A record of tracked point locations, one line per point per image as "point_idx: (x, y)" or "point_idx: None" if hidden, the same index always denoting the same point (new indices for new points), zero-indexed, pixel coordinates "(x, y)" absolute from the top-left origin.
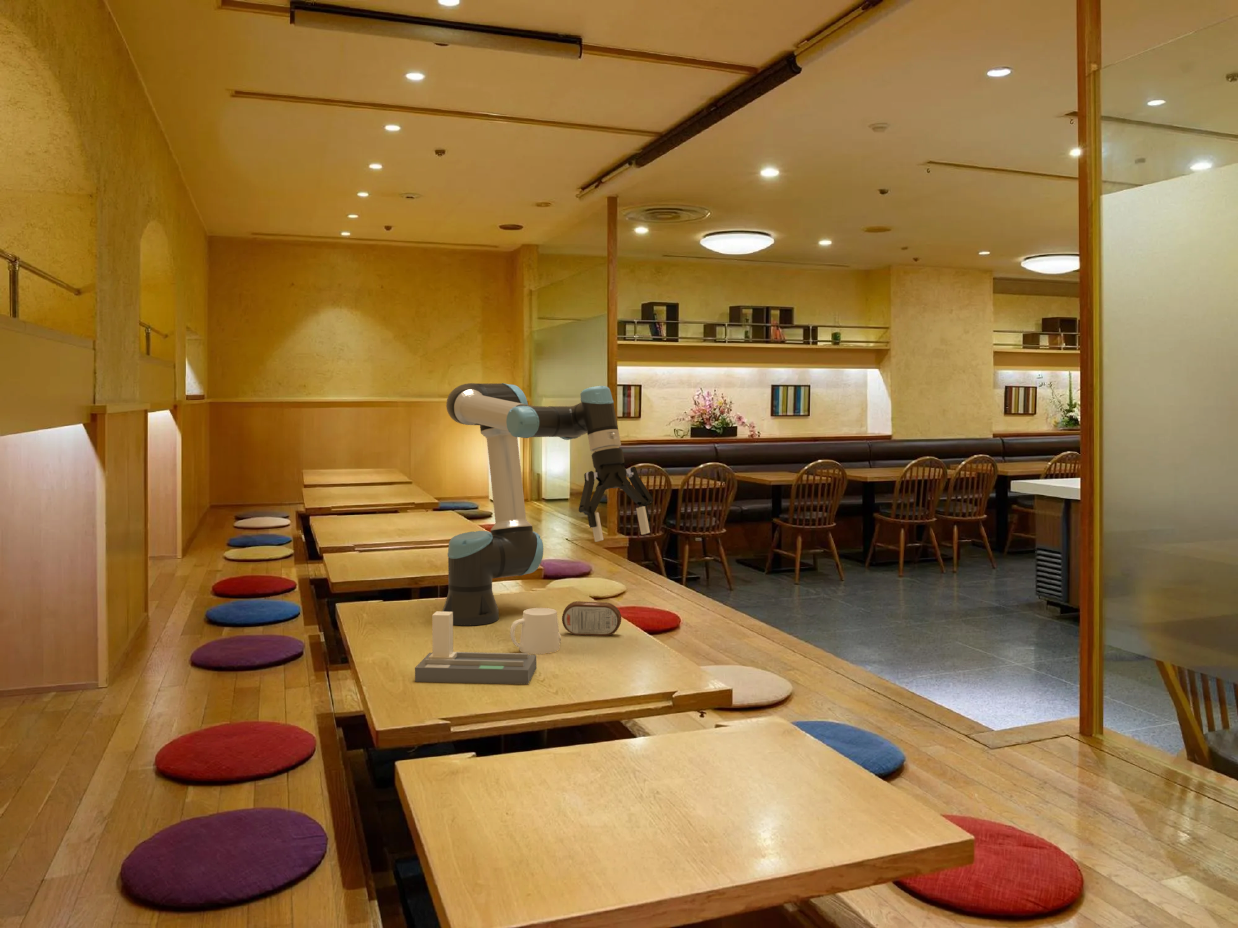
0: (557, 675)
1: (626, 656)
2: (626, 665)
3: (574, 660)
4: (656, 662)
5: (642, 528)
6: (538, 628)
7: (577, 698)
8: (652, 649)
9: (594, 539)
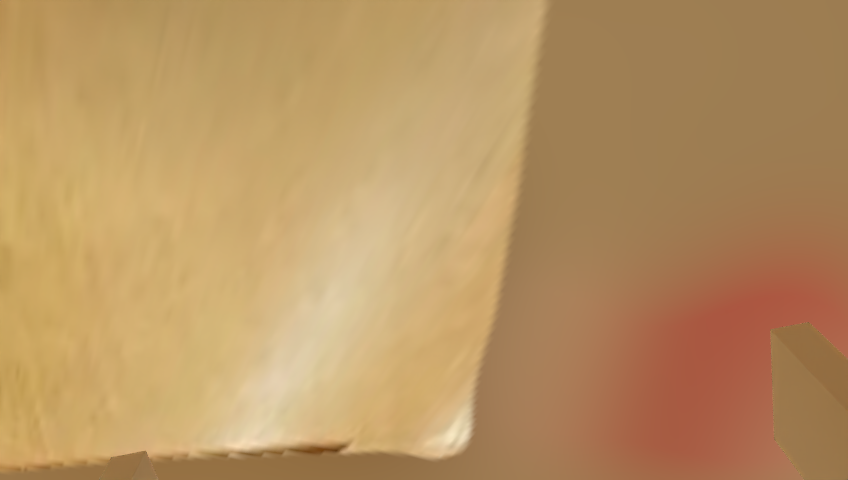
0: (8, 262)
1: (344, 119)
2: (298, 225)
3: (103, 105)
4: (419, 222)
5: (806, 411)
6: None
7: (56, 443)
8: (497, 57)
9: (102, 476)
